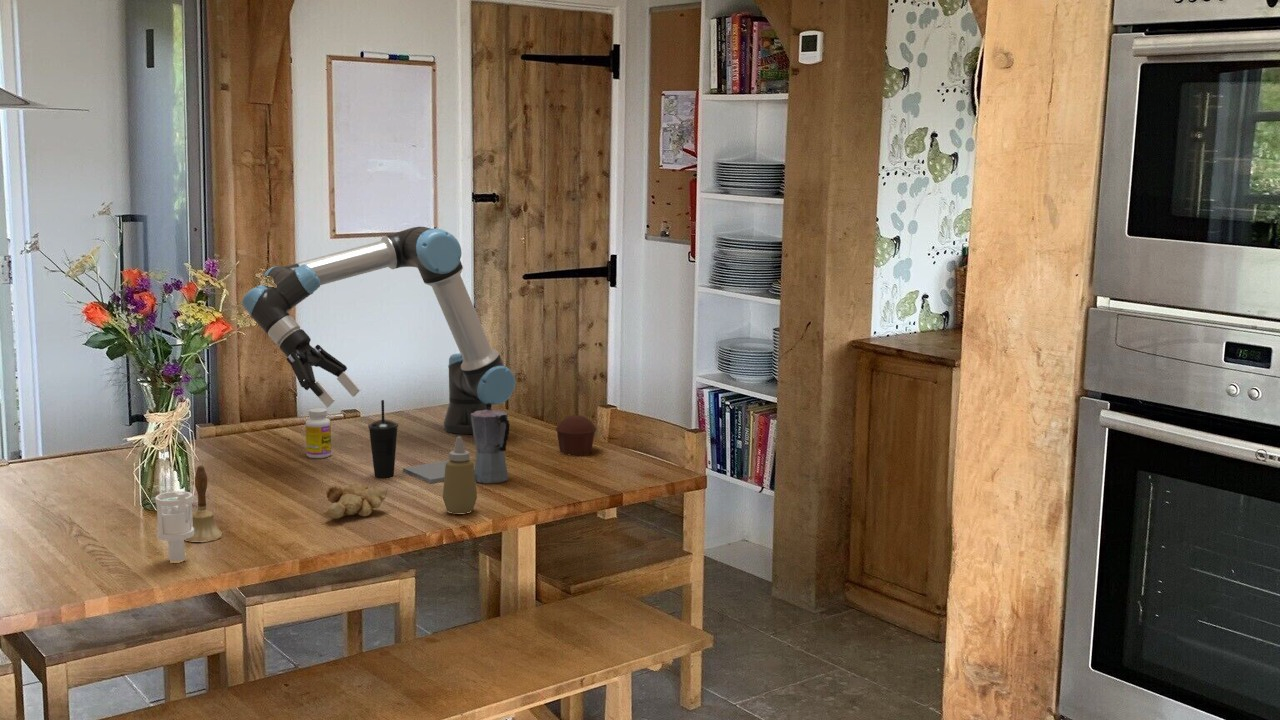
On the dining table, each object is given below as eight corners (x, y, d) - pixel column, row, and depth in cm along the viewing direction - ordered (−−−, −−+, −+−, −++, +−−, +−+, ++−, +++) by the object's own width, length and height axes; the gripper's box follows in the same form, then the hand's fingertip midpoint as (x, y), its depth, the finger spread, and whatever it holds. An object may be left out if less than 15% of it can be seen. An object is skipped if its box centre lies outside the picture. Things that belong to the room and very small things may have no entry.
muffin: (599, 455, 346) (599, 420, 344) (560, 457, 344) (560, 422, 342) (590, 445, 358) (591, 411, 356) (552, 447, 355) (552, 412, 353)
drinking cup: (403, 473, 326) (401, 397, 322) (394, 480, 318) (392, 404, 315) (374, 471, 326) (372, 396, 323) (365, 479, 319) (363, 402, 315)
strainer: (169, 569, 252) (165, 497, 249) (152, 561, 257) (148, 490, 254) (202, 561, 257) (198, 490, 255) (184, 553, 262) (181, 483, 259)
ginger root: (375, 493, 302) (376, 464, 299) (394, 526, 290) (394, 496, 286) (310, 503, 296) (310, 473, 292) (326, 537, 283) (326, 506, 280)
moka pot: (489, 471, 329) (488, 396, 325) (526, 483, 318) (526, 406, 314) (459, 477, 322) (458, 401, 319) (496, 490, 311) (496, 411, 308)
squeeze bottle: (446, 506, 297) (445, 432, 294) (479, 507, 297) (479, 433, 294) (439, 516, 289) (438, 440, 286) (474, 517, 289) (473, 441, 286)
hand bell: (230, 532, 276) (227, 462, 273) (211, 544, 268) (207, 472, 265) (195, 530, 277) (191, 460, 274) (175, 542, 269) (171, 470, 266)
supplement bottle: (322, 460, 337) (321, 413, 335) (301, 457, 339) (299, 411, 337) (336, 454, 344) (335, 408, 341) (315, 452, 346) (314, 406, 343)
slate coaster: (449, 463, 336) (449, 459, 336) (477, 474, 325) (477, 470, 325) (403, 471, 327) (402, 468, 327) (430, 483, 316) (430, 479, 316)
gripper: (305, 339, 336) (358, 398, 334) (254, 354, 312) (310, 418, 311) (323, 321, 333) (375, 380, 332) (272, 335, 310) (329, 398, 308)
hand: (344, 398), depth 321 cm, fingers open, 13 cm apart
